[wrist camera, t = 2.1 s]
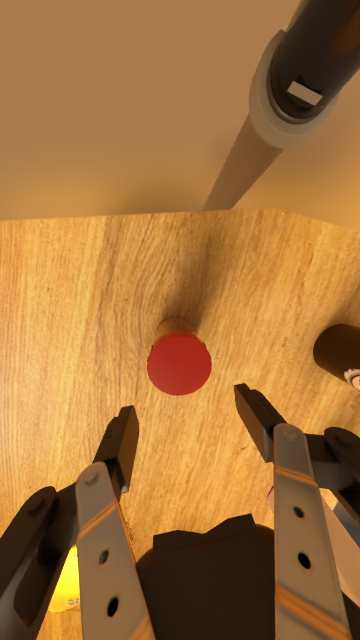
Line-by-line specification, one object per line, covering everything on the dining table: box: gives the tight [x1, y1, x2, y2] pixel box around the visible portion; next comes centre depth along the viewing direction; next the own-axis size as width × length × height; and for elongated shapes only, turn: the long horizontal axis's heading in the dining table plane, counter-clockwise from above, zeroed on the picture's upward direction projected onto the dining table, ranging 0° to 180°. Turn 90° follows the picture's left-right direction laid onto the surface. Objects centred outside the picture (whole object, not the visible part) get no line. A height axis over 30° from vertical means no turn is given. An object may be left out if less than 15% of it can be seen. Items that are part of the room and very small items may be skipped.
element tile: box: [48, 544, 80, 613], centre depth 33 cm, size 15×15×5 cm
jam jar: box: [154, 317, 197, 343], centre depth 22 cm, size 6×6×10 cm
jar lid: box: [147, 331, 212, 396], centre depth 18 cm, size 6×6×2 cm
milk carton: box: [267, 487, 360, 607], centre depth 27 cm, size 7×7×19 cm
